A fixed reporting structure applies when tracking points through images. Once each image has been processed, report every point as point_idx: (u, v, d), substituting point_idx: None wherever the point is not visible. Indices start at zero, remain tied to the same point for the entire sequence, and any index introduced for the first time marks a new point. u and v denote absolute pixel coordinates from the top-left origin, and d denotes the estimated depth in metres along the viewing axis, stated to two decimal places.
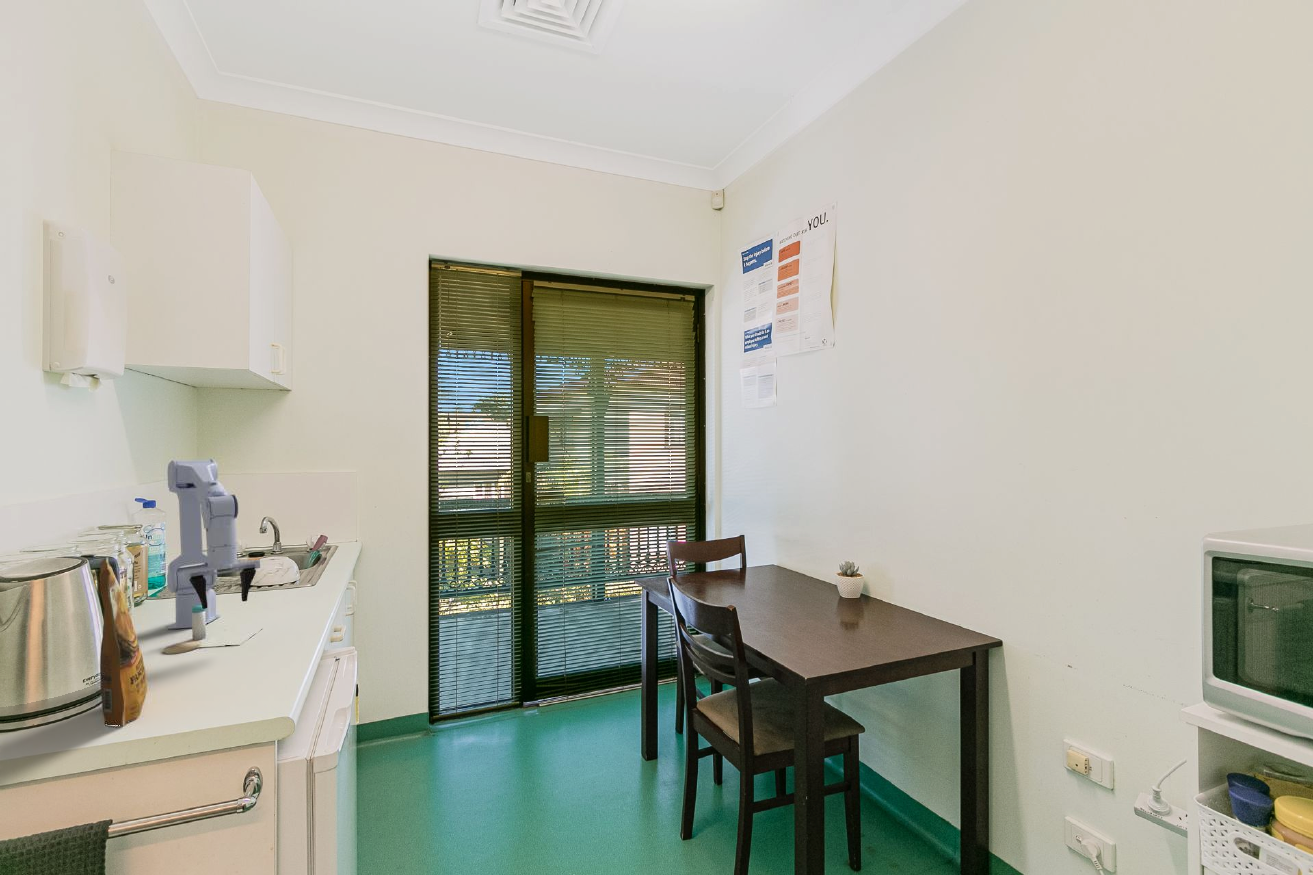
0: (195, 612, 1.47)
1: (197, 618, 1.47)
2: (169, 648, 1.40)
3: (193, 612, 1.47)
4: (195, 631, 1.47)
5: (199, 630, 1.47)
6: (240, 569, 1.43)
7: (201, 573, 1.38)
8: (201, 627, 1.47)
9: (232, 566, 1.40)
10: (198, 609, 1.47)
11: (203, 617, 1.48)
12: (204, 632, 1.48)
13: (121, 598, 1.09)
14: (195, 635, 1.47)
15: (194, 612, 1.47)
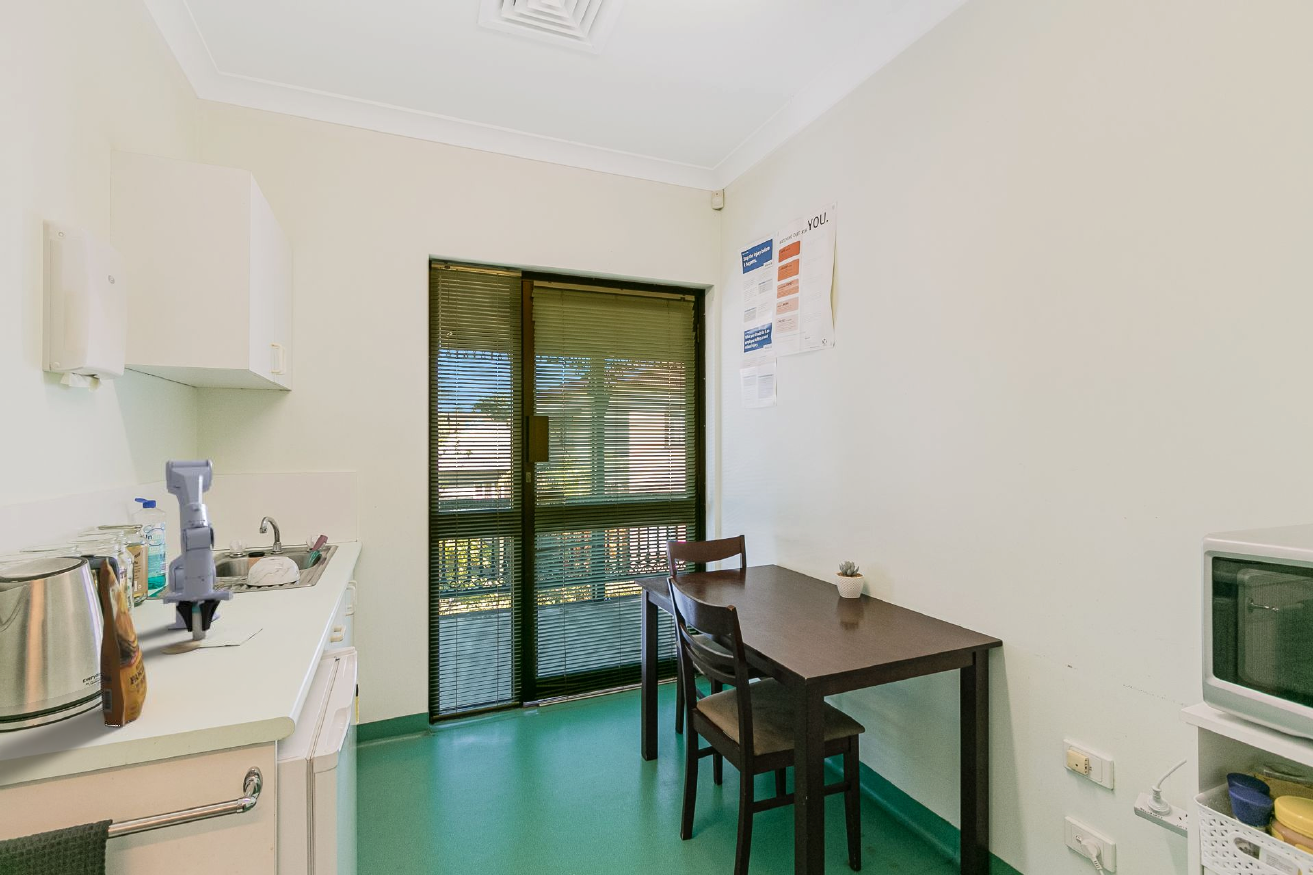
0: (195, 612, 1.47)
1: (197, 618, 1.47)
2: (169, 648, 1.40)
3: (193, 612, 1.47)
4: (195, 631, 1.47)
5: (199, 630, 1.47)
6: (212, 599, 1.48)
7: None
8: (201, 627, 1.47)
9: (198, 598, 1.45)
10: (198, 609, 1.47)
11: None
12: (204, 632, 1.48)
13: (121, 598, 1.09)
14: (195, 635, 1.47)
15: (194, 612, 1.47)
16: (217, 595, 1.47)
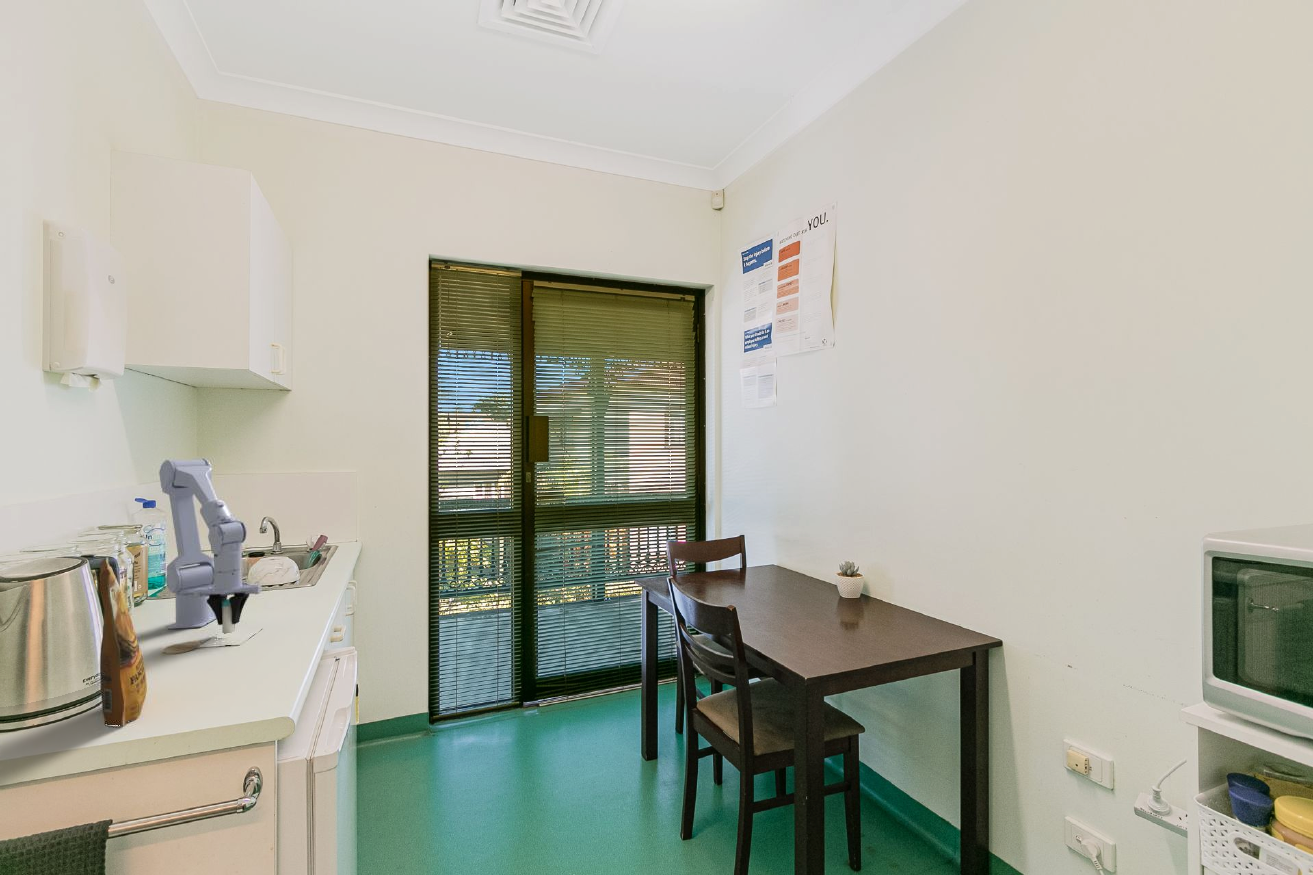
0: (225, 606, 1.50)
1: (227, 612, 1.50)
2: (169, 648, 1.40)
3: (223, 606, 1.50)
4: (225, 624, 1.50)
5: (229, 623, 1.50)
6: (242, 593, 1.51)
7: (209, 593, 1.50)
8: (231, 620, 1.50)
9: (228, 591, 1.48)
10: (228, 603, 1.50)
11: None
12: (233, 625, 1.51)
13: (121, 598, 1.09)
14: (225, 629, 1.50)
15: (224, 606, 1.50)
16: (246, 589, 1.50)
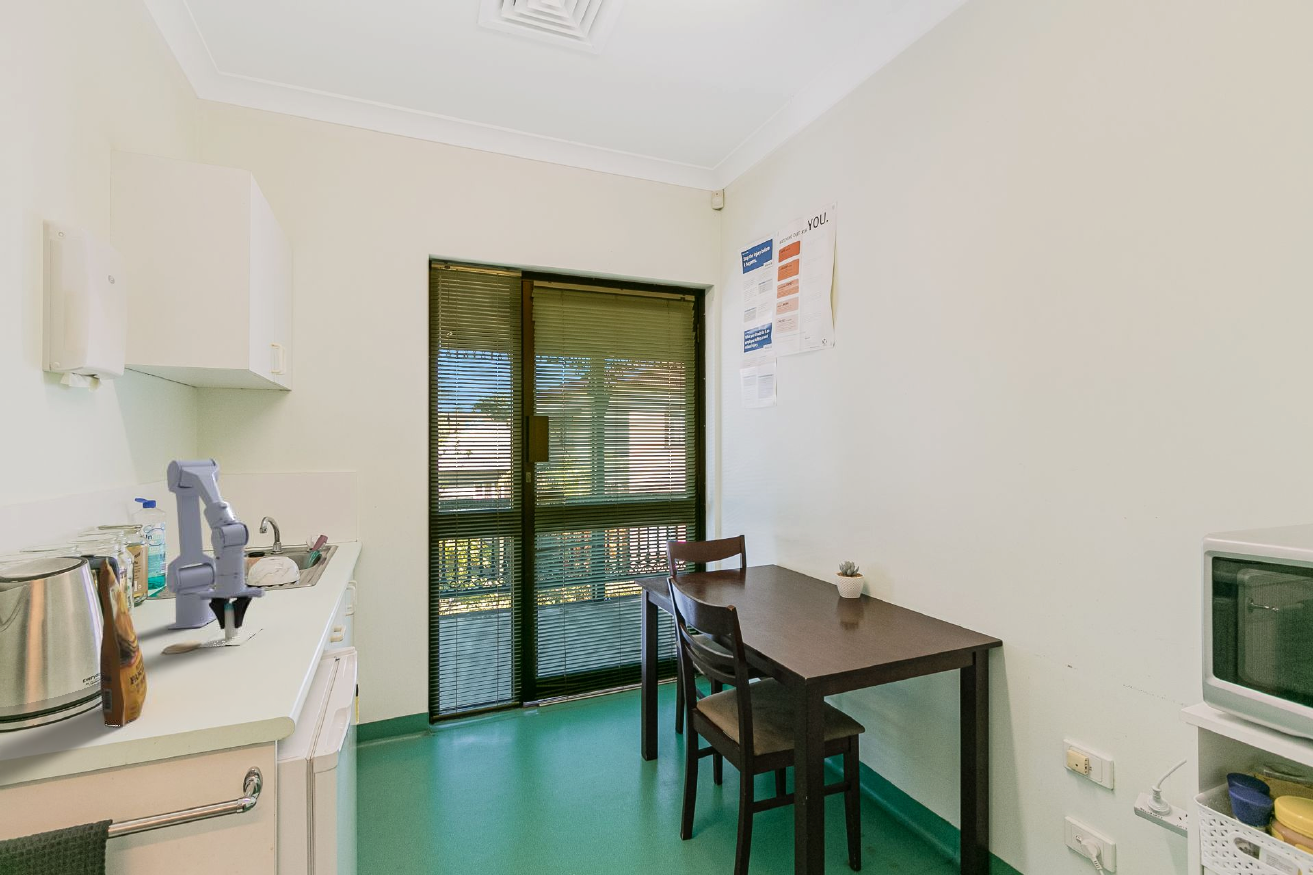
0: (228, 609, 1.46)
1: (229, 615, 1.47)
2: (169, 648, 1.40)
3: (226, 609, 1.46)
4: (228, 628, 1.47)
5: (231, 627, 1.47)
6: (245, 596, 1.48)
7: (211, 596, 1.47)
8: (233, 624, 1.47)
9: (231, 595, 1.45)
10: (230, 606, 1.47)
11: None
12: (236, 629, 1.48)
13: (121, 598, 1.09)
14: (227, 633, 1.47)
15: (227, 609, 1.46)
16: (250, 592, 1.47)
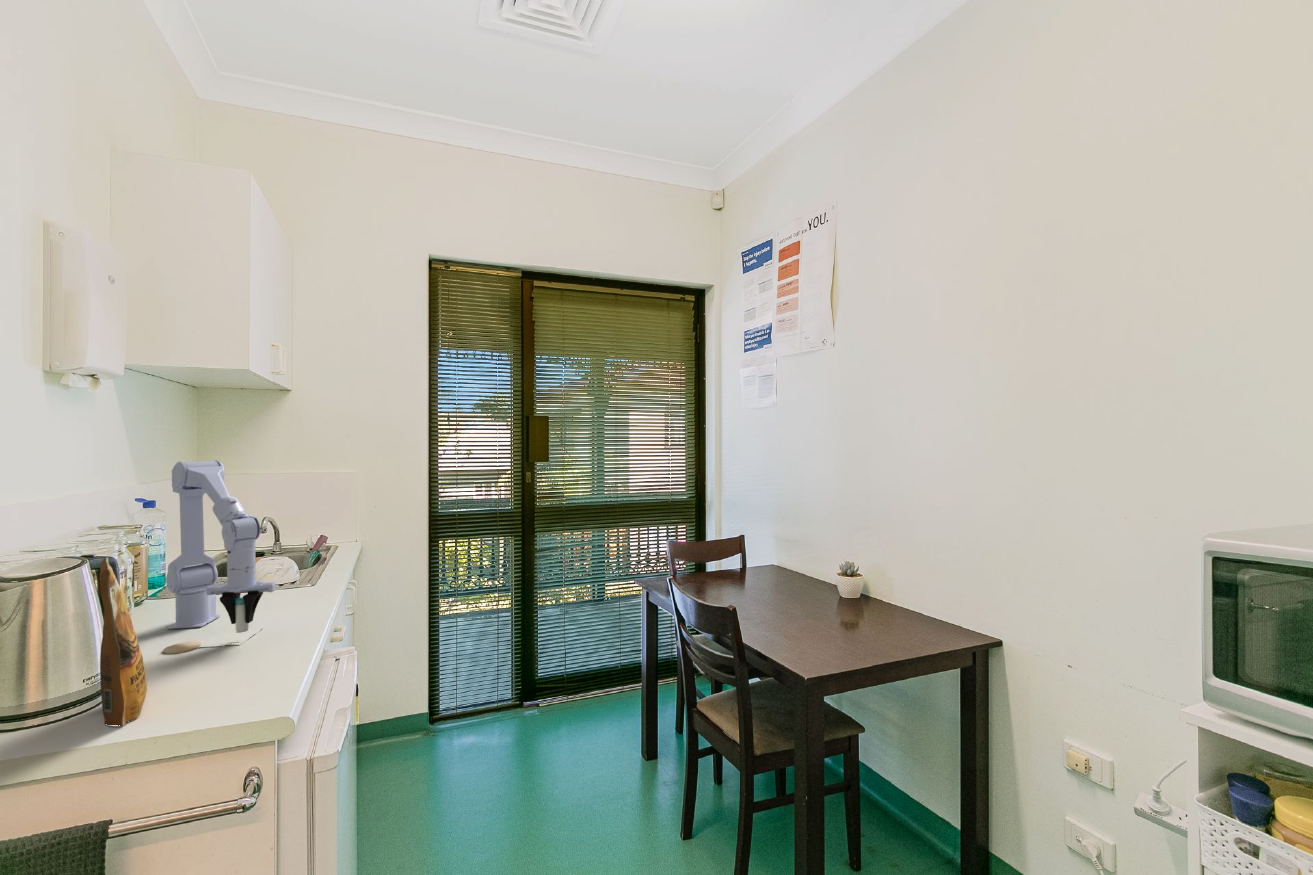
0: (238, 604, 1.45)
1: (240, 610, 1.45)
2: (169, 648, 1.40)
3: (236, 604, 1.45)
4: (238, 623, 1.45)
5: (242, 622, 1.45)
6: (256, 591, 1.46)
7: (222, 590, 1.45)
8: (244, 619, 1.45)
9: (242, 589, 1.44)
10: (241, 601, 1.45)
11: None
12: (247, 624, 1.46)
13: (121, 598, 1.09)
14: (238, 628, 1.45)
15: (237, 604, 1.45)
16: (261, 587, 1.46)
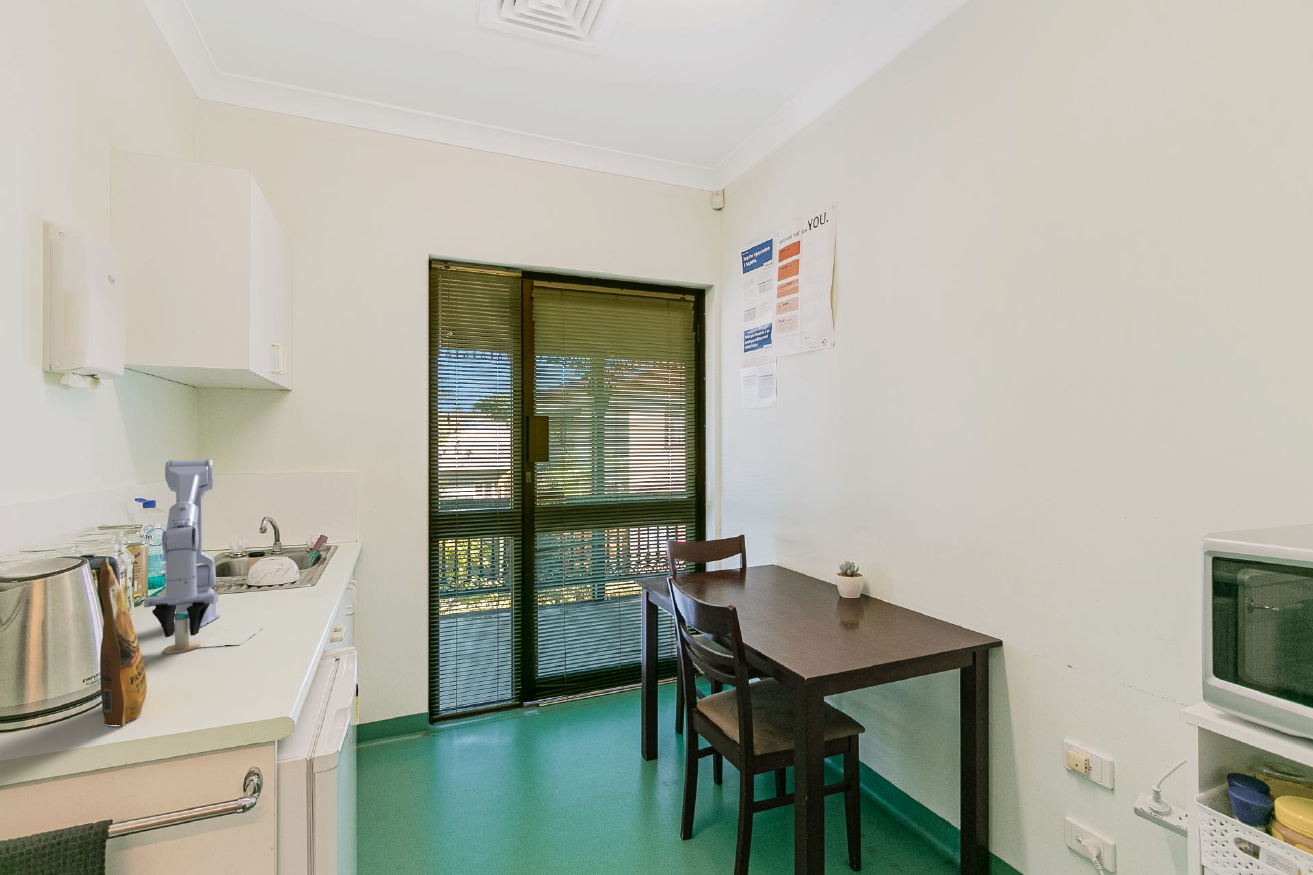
0: (178, 619, 1.40)
1: (180, 626, 1.40)
2: (169, 648, 1.40)
3: (176, 619, 1.40)
4: (178, 639, 1.40)
5: (182, 638, 1.40)
6: (196, 602, 1.41)
7: (161, 602, 1.40)
8: (184, 635, 1.40)
9: (181, 601, 1.39)
10: (181, 616, 1.40)
11: (186, 624, 1.41)
12: (187, 640, 1.41)
13: (121, 598, 1.09)
14: (177, 644, 1.40)
15: (177, 619, 1.40)
16: (201, 598, 1.41)
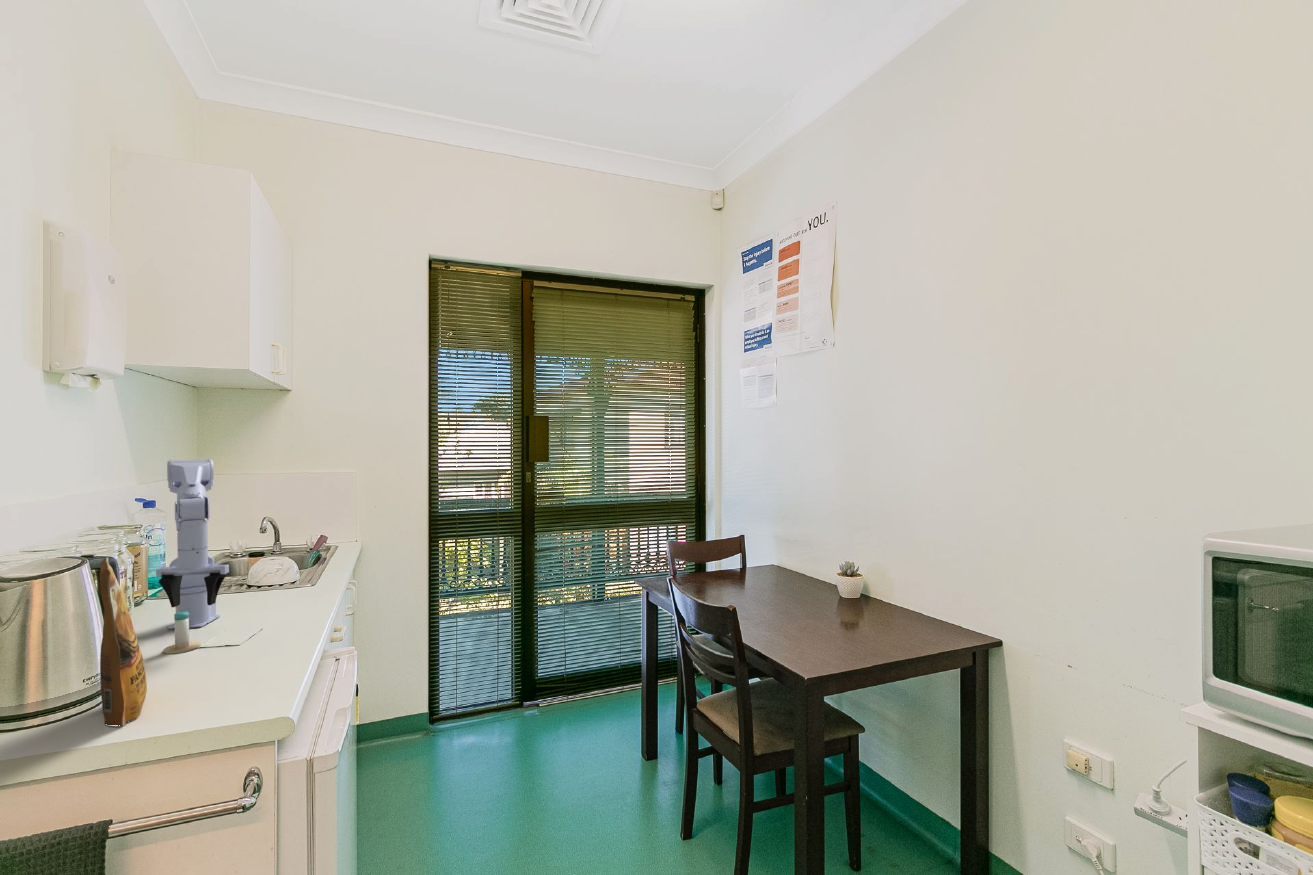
0: (178, 619, 1.40)
1: (180, 626, 1.40)
2: (169, 648, 1.40)
3: (176, 619, 1.40)
4: (178, 639, 1.40)
5: (182, 638, 1.40)
6: (208, 573, 1.43)
7: (172, 572, 1.41)
8: (184, 635, 1.40)
9: (192, 571, 1.40)
10: (181, 616, 1.40)
11: (186, 625, 1.41)
12: (187, 640, 1.41)
13: (121, 598, 1.09)
14: (177, 644, 1.40)
15: (177, 619, 1.40)
16: (212, 568, 1.42)
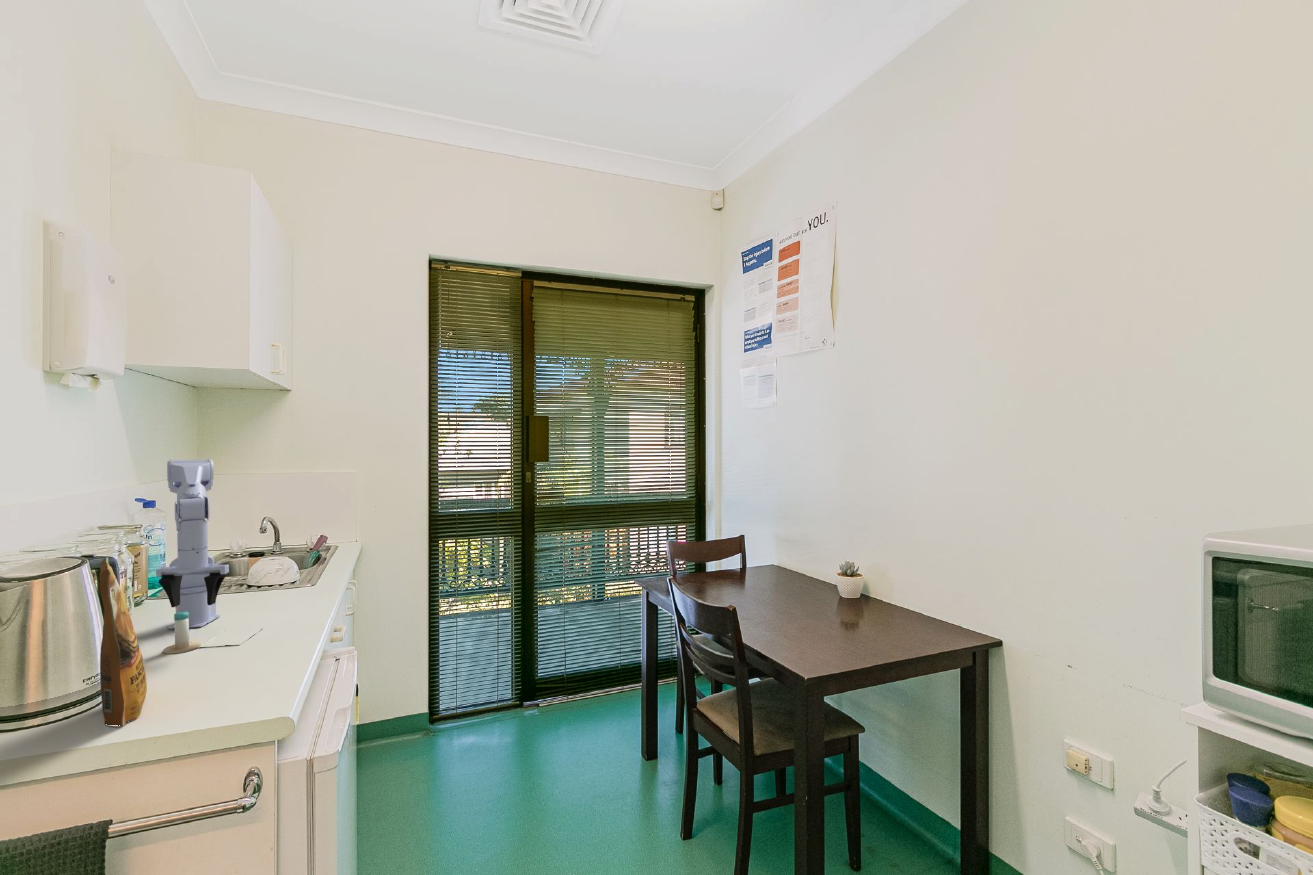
0: (177, 619, 1.40)
1: (180, 626, 1.40)
2: (169, 648, 1.40)
3: (175, 619, 1.40)
4: (178, 639, 1.40)
5: (182, 638, 1.40)
6: (208, 573, 1.43)
7: (172, 572, 1.41)
8: (184, 635, 1.40)
9: (192, 571, 1.40)
10: (181, 616, 1.40)
11: (186, 625, 1.41)
12: (187, 640, 1.41)
13: (121, 598, 1.09)
14: (177, 644, 1.40)
15: (176, 619, 1.40)
16: (212, 568, 1.42)
